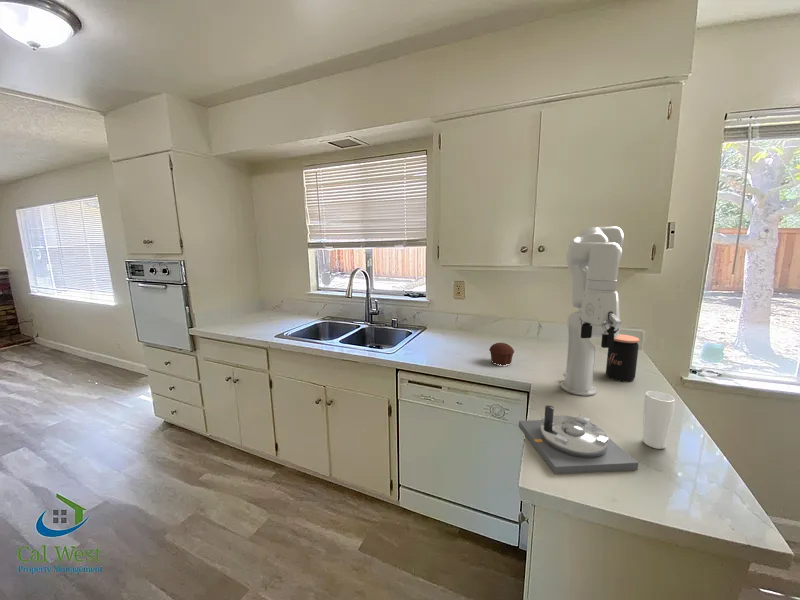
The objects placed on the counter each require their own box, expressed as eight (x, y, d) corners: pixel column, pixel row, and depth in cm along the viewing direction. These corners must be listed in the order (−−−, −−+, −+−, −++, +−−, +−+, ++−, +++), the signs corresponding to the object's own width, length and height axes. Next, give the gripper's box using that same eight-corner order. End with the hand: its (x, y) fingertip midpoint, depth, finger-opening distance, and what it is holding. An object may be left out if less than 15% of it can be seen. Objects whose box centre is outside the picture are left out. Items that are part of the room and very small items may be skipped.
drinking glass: (655, 437, 99) (661, 390, 96) (675, 451, 92) (682, 401, 89) (633, 437, 98) (639, 390, 96) (651, 451, 92) (658, 401, 89)
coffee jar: (600, 372, 149) (604, 333, 146) (625, 372, 148) (630, 334, 145) (613, 381, 138) (617, 340, 135) (640, 382, 137) (645, 341, 134)
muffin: (516, 362, 162) (517, 342, 161) (510, 369, 153) (511, 348, 152) (492, 357, 169) (493, 339, 167) (485, 364, 160) (486, 344, 158)
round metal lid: (553, 456, 87) (556, 423, 85) (532, 422, 103) (534, 393, 102) (620, 458, 85) (624, 424, 84) (588, 423, 102) (590, 394, 101)
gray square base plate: (518, 426, 105) (519, 420, 105) (585, 423, 106) (585, 417, 106) (554, 473, 83) (555, 466, 83) (637, 469, 85) (638, 461, 84)
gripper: (571, 282, 104) (567, 335, 107) (609, 290, 87) (603, 352, 90) (594, 282, 104) (589, 334, 107) (636, 289, 87) (629, 351, 90)
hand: (595, 342), depth 99 cm, fingers open, 9 cm apart
